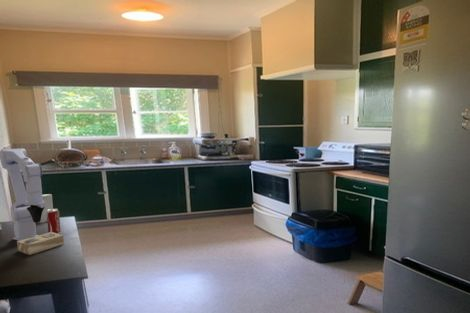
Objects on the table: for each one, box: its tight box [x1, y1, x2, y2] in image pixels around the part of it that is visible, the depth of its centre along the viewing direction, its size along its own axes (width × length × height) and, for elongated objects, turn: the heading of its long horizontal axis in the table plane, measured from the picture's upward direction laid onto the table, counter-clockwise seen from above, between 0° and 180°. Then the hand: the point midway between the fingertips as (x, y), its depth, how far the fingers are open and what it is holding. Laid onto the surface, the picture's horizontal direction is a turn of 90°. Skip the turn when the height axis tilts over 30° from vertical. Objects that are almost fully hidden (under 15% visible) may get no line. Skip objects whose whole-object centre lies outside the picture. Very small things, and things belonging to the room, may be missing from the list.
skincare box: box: [37, 193, 54, 224], centre depth 177 cm, size 8×6×15 cm
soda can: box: [46, 208, 61, 234], centre depth 153 cm, size 5×5×12 cm
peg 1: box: [25, 238, 38, 243], centre depth 132 cm, size 4×4×4 cm
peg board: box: [16, 232, 65, 256], centre depth 135 cm, size 10×14×4 cm
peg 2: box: [43, 234, 55, 238], centre depth 138 cm, size 4×4×4 cm
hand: (37, 222), depth 137 cm, fingers closed
